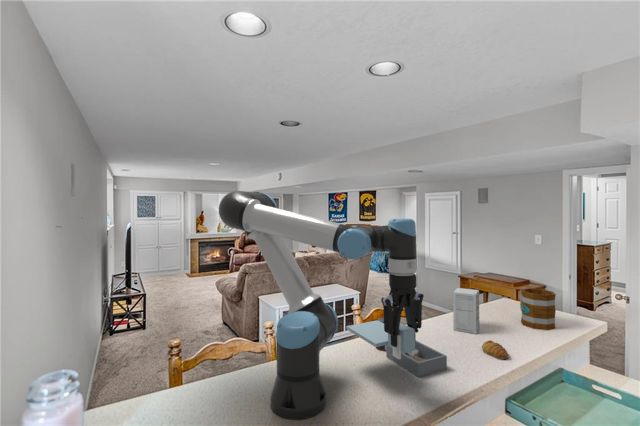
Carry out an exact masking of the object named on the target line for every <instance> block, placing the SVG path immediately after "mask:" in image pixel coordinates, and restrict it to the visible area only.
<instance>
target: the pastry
mask: <svg viewBox="0 0 640 426" xmlns="http://www.w3.org/2000/svg"><path fill="white" fill-rule="evenodd" d="M481 349H482V351H483V352H484V353H485V354H486V355H488V356H490V357H493V358H495V359H499V360H506V359H508V358H509V355H510V354H509V353H508V350H506V349H505V347H503V346H502V344H500V343H498V342H494V341H493V340H486V341H484V342H483V344H482V345H481Z"/></svg>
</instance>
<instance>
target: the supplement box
mask: <svg viewBox="0 0 640 426" xmlns="http://www.w3.org/2000/svg"><path fill="white" fill-rule="evenodd" d="M452 292H453V293H452V294H453V295H452V296H453V297H452V301H453V306H452V307H453V308H452V311H453V315H452V316H453V317H452V318H453V331H455V332H462V333H468V334H473V335H477V334H478V332H479V331H480V290H479V289H471V288H461V287H457V288H456V289H455V290H454V291H452Z"/></svg>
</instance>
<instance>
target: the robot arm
mask: <svg viewBox="0 0 640 426" xmlns="http://www.w3.org/2000/svg"><path fill="white" fill-rule="evenodd" d="M218 215H219V218H220V220H221V222H223V224H225V225H226V226H227V227H228V228H230V229H235V230H240V231H244V233H245V235H246V237H247V238H248V239H250V240H253V241H254V242H255V244H256V246H257V247H258V249H259V251H260V254H261V256H262V257H263V259H264V261H265V263H266V265H267V267H268V268H269V270H270V272H271V274H272V276H273V278H274V280H275V281H276V284H277V286H278V288H279V290H280V292H281V293H282V295H283V297H284V299H285V301H286V303H287V305H288V307H289V308H288V312H287V314H286V313H285V315H283V316H282V317H281V318H279V320H278V321H277V324H276V332H275V340H276V343H275V344H276V377H275V380H274V384H273V387H272V390H271V394H270V408H271V410H272V411H273V413H274V414H275V415H277V416H279V417H281V418H285V419H288V420H289V419H291V420H302V419H303V420H304V419H308V418H312V417H314V416H316V415H318V414H320V413H321V412H323V410H324V409H325V407H326V405H327V393H326V389H325V386H324V383H323V381H322V377H321V374H320V352H321V351H322V350H323V349H324V347H325V346H326V345H327V344H328V343H329V342H330V341H331V340H333V338H334V337H335V334H336V332H337V330H338V326H339V319H338V315H337V312H336V310H335V309H334V308H333V307H332V306H331V305H329V304H327V303H325V302H324V299H323V298H322V297H321V294H318V293H315V292H313V289H312V288H311V286H310V284H309V283H308V281H307V278H306V277H305V274H304V273H303V271H302V270H301V268H300V266H299V264H298V262H297V260H296V258H295V256H294V254H293V253H292V251H291V250H290V248H289V246H288V244H287V242H286V240H289V241H294V242H299V243H301V244H305V245H309V246H314V247H317V248H321V249H324V250H328V251H331V252H335V253H338V254H340V255H342V256H343V257H344V258H346V259H348V260H359V259H362V258H364V257H366V256H367V255H368V254H369V253H371V252H372V253H373V252H383V253H388V272H390V273H389V274H388V279H389V280H388V282H389V283H388V285H389V288H390V289H389V293H388V296H386V297H382V298H381V299H380V301H381V303H382V305H383V309H382V310H383V318H384V331H385V332H386V333H388V334H390V335H391V345H392V346H393V356H394V357H396V358H397V359H401V335H399V334H398V333H399V326H400V323H401V319H402V312H403V311H404V315H405V319H406V326H409V327H411V328H413V329H415V341H417V339H416V334H417V333H419V329H421V328H422V323H423V322H422V321H423V320H422V317H423V315H422V314H423V301H424V296H425V295H424V294H423V293H420V292H418V291H417V290H416V288H417V286H418V285H417V274H416V272H417V230H416V229H417V228H416V221H415V220H414V219H412V218H390V219H389V220H388V223H387V225H362V224H358V225H349V224H348V225H347V224H343V223H339V222H335V221H331V220H327V219H322V218H318V217H314V216H310V215H306V214H302V213H298V212H294V211H289V210H285V209H282V208H278V205H277V203H276V201H275V199H274V198H273V197H272V196H271V195H268V194H267V193H263V192H262V191H245V190H234V191H230V192H229V193H227V194H225V195H224V196H223V197H222V199H221V200H220V202H219V204H218ZM285 239H286V240H285ZM408 354H409V355H411V356H414V351H412V352H408Z"/></svg>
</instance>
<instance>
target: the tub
mask: <svg viewBox="0 0 640 426" xmlns="http://www.w3.org/2000/svg"><path fill="white" fill-rule="evenodd" d="M415 347H416V348H419V358H421V359H424V361H420V362H418V361H416V360H414V359H413V358H411V357H409V354H408V353H402V352H401V359H397V358H396V357H394V356H393V347H391V346H390V345H386V351H385V352H386V357H385V358H386V359H388V360H390V361H391V362H393V363H394V364H396V365H398V366H399V367H401V368H402V369H404V370H406V371H407V372H409V373H410V374H412V375H413V376H415V377H416V378H418V379H419V378H422V377H426V376H429V375H433V374H436V373H439V372H442V371H443V372H444V371H446V370H447V369H448V366H447V364H448V363H447V361H448V359H447V358H448V356H447V355H446V354H444V353H442V352H440V351H438V350H436V349H434V348H432V347H430V346H428V345H426V344H424V343H421V342H419V341H418V340H416V341H415Z"/></svg>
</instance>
